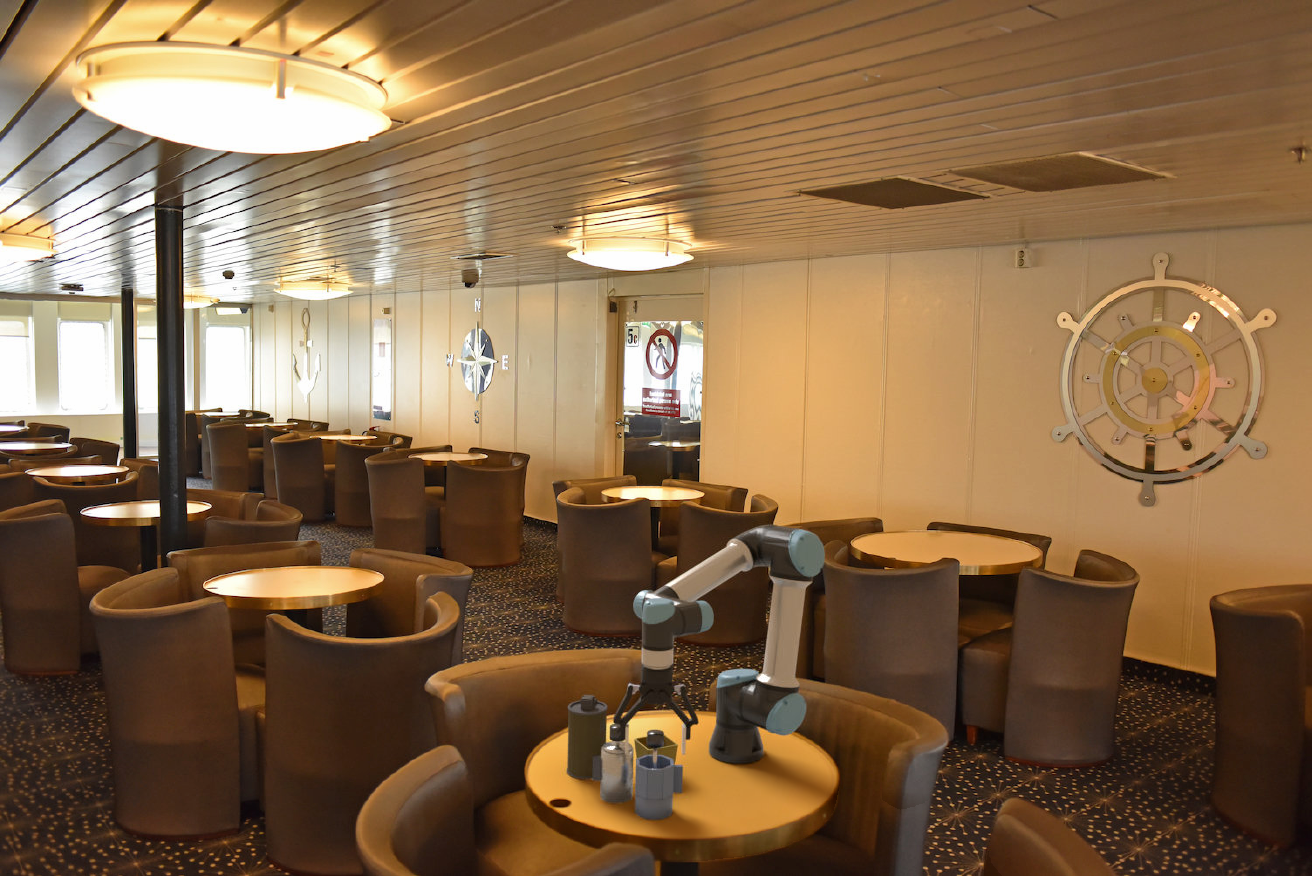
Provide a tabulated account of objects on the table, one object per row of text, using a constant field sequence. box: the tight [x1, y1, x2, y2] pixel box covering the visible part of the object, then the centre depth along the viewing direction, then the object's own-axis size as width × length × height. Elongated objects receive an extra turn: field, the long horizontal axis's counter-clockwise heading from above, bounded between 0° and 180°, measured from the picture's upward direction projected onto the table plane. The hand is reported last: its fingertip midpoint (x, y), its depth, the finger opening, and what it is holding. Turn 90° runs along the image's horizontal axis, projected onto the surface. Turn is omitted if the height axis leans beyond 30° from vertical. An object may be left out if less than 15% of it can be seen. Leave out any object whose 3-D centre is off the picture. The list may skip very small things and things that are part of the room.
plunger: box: [646, 729, 665, 769], centre depth 225 cm, size 7×7×14 cm
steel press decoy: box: [591, 723, 635, 804], centre depth 233 cm, size 10×8×18 cm
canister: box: [566, 694, 608, 780], centre depth 247 cm, size 11×10×20 cm
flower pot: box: [633, 733, 679, 765], centre depth 246 cm, size 9×9×9 cm
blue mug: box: [634, 755, 684, 821], centre depth 225 cm, size 11×9×12 cm
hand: (655, 752), depth 225 cm, fingers open, 13 cm apart
